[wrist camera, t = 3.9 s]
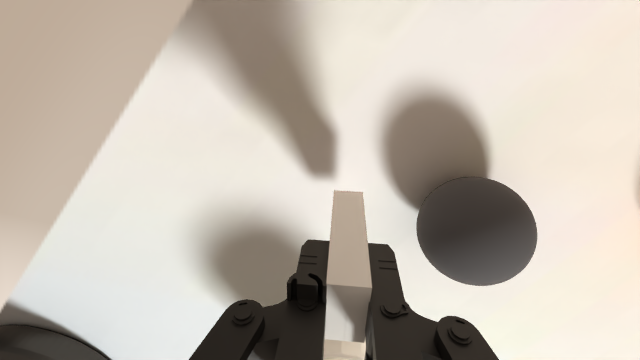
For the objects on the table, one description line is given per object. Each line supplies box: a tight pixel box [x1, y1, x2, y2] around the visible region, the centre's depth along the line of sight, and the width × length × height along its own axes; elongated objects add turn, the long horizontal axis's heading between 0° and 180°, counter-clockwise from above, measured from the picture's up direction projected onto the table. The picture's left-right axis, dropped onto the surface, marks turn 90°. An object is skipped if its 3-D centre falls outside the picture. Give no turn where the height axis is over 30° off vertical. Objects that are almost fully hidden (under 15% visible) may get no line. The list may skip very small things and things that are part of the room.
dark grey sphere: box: [417, 177, 537, 286], centre depth 16 cm, size 6×6×6 cm
